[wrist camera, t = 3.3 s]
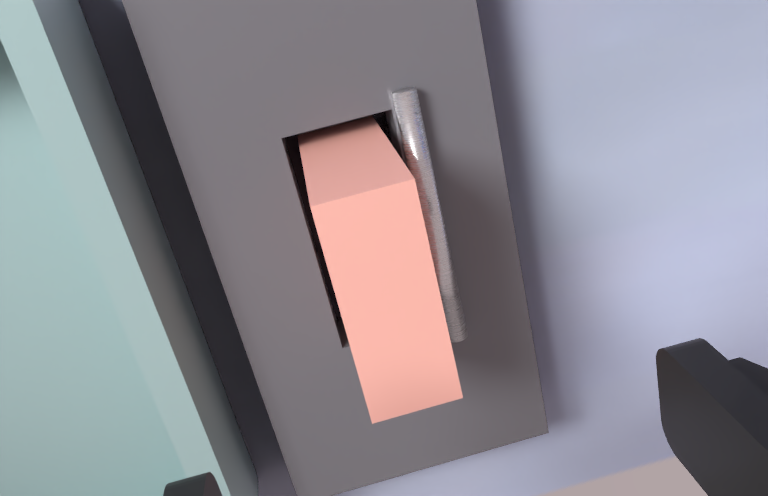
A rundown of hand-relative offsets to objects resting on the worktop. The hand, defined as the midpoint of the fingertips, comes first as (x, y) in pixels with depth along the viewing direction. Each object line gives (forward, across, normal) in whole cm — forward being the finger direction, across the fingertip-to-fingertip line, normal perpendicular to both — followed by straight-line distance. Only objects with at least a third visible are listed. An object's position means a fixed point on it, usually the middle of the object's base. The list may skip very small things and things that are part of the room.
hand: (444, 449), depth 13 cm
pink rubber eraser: (+12, 0, 0) cm, 12 cm away
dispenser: (+12, 0, 0) cm, 12 cm away
